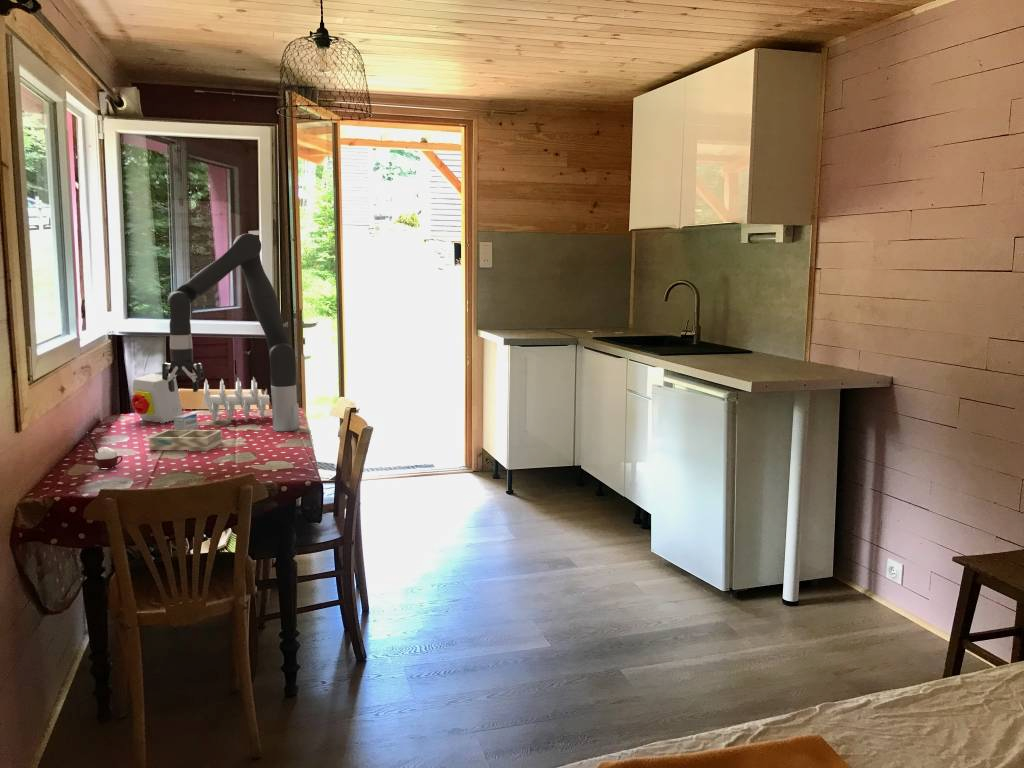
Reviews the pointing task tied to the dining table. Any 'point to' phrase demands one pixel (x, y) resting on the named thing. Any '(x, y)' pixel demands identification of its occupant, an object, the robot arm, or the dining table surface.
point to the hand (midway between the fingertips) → (183, 391)
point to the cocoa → (105, 456)
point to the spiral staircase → (235, 400)
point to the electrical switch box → (156, 398)
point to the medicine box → (186, 422)
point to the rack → (186, 440)
